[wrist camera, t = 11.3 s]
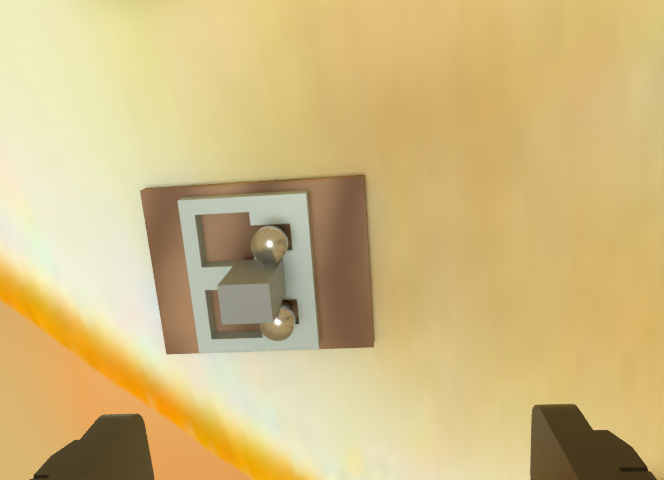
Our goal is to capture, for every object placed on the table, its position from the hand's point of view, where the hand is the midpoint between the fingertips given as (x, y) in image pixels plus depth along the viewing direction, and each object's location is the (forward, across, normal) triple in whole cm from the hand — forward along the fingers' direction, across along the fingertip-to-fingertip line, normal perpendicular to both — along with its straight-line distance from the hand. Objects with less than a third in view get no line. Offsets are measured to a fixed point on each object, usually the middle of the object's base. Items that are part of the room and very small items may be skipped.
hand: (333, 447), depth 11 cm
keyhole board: (+26, +7, +4) cm, 27 cm away
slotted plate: (+25, +7, +4) cm, 26 cm away
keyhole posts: (+26, +6, +4) cm, 27 cm away
